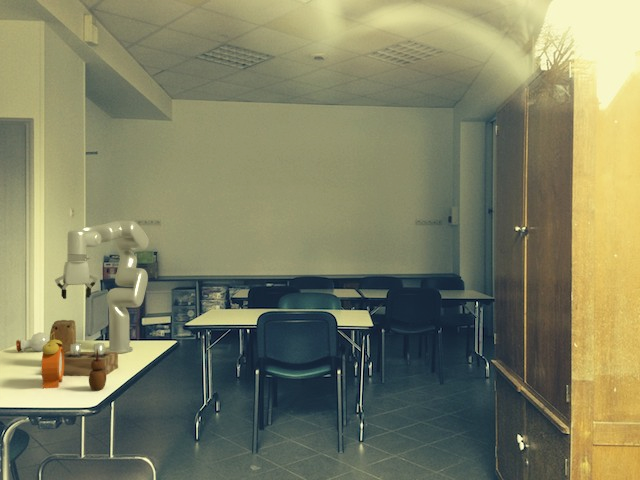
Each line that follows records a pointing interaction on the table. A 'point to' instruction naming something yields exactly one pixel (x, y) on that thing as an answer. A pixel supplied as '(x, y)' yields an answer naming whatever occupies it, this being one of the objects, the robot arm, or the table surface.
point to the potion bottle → (33, 342)
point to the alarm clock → (52, 363)
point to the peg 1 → (75, 349)
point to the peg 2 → (99, 349)
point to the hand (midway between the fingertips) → (76, 297)
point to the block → (64, 333)
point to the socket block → (88, 363)
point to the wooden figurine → (97, 374)
